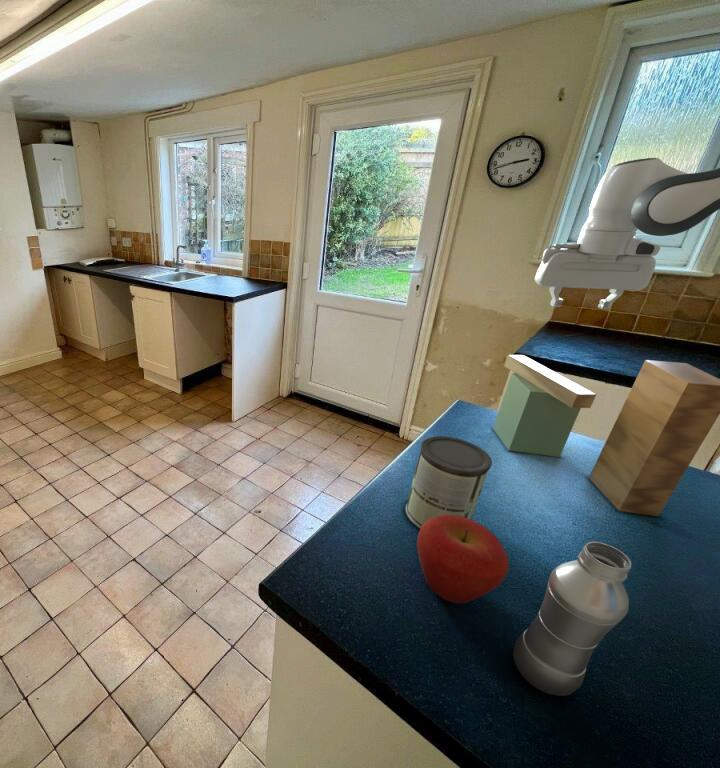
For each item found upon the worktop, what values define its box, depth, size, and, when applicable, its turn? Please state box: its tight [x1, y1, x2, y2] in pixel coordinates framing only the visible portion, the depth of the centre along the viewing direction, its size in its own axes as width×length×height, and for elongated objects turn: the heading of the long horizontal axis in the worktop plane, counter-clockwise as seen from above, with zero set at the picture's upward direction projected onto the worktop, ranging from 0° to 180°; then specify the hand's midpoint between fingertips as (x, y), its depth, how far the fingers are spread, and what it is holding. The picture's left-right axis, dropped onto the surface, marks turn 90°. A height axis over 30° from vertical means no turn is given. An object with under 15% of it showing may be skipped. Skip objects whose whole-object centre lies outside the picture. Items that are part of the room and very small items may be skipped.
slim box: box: [504, 354, 597, 409], centre depth 89 cm, size 4×21×3 cm, turn 179°
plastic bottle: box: [512, 541, 632, 697], centre depth 46 cm, size 6×7×20 cm
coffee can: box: [405, 435, 493, 530], centre depth 72 cm, size 10×10×14 cm
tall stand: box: [588, 359, 720, 517], centre depth 74 cm, size 6×10×26 cm, turn 166°
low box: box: [492, 372, 582, 458], centre depth 94 cm, size 10×10×15 cm
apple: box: [416, 515, 510, 604], centre depth 58 cm, size 11×11×12 cm
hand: (579, 307), depth 95 cm, fingers open, 8 cm apart
